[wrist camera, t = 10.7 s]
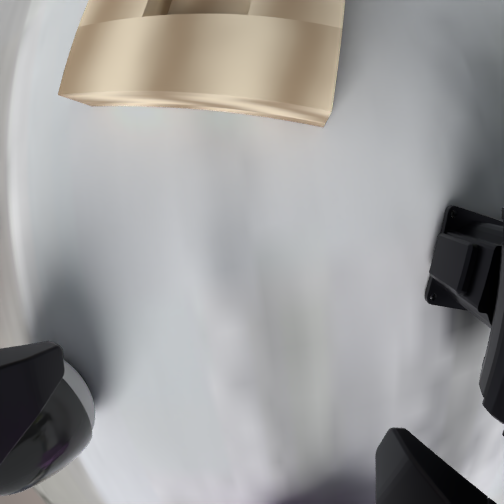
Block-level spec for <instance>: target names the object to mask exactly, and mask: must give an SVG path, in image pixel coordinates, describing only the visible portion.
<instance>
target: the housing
mask: <svg viewBox="0 0 504 504" xmlns="http://www.w3.org/2000/svg"><path fill="white" fill-rule="evenodd" d="M344 7H345V0H89V1H88V3H87V6H86V8H85V11H84V13H83V16H82V18H81V21H80V24H79V26H78V29H77V32H76V35H75V38H74V41H73V44H72V47H71V50H70V53H69V56H68V59H67V63H66V66H65V70H64V73H63V77H62V81H61V84H60V88H59V92H58V95H60V96H63V97H66V98H69V99H72V100H75V101H78V102H81V103H84V104H87V105H90V106H151V107H173V108H188V109H201V110H212V111H222V112H231V113H239V114H247V115H255V116H262V117H269V118H275V119H281V120H287V121H293V122H299V123H304V124H309V125H314V126H319V127H324V125H325V123H326V121H327V120H328V118H329V116H330V114H331V112H332V106H333V99H334V92H335V85H336V78H337V70H338V62H339V54H340V45H341V37H342V27H343V18H344Z"/></svg>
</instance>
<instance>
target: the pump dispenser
mask: <svg viewBox="0 0 504 504" xmlns="http://www.w3.org/2000/svg"><path fill="white" fill-rule="evenodd" d="M64 367H65V372H64V376H63V378H62V380H61V381H60V383H59V384H58V386H57V387H56V389H55V390H54V392H53V393H52V395H51V397H50V398H49V400H48V401H47V403H46V405H45V406H44V408H43V409H42V411H41V412H40V414H39V415H38V416H37V418H36V419H35V420H34V421H33V423H32V424H31V425H30V427H29V428H28V429H27V430H26V432H25V433H24V434H23V435H22V437H21V438H20V439H19V441H18V442H17V443H16V445H15V446H14V447H13V448H12V450H11V451H10V452H9V454H8V455H7V456H6V458H5V459H4V460H3V462H2V463H1V464H0V496H4V495H11V494H15V493H18V492H22V491H24V490H27V489H29V488H31V487H33V486H35V485H37V484H39V483H41V482H43V481H45V480H46V479H48V478H50V477H51V476H53V475H55V474H56V473H58V472H59V471H60V470H62V469H63V468H64V467H66V466H67V465H68V464H69V463H70V462H72V461H73V460H74V459H75V458H76V457H77V456H78V455H79V454H80V453H81V452H82V451H83V450H84V449H85V448H86V447H87V445H88V444H89V443H90V441H91V438H92V429H93V426H94V421H95V407H94V402H93V398H92V395H91V393H90V390H89V388H88V386H87V384H86V383H85V381H84V380H83V378H82V377H81V376H80V374H79V373H78V372H77V371H76V370H75V369H74V368H73V367H72V366H71V365H70V364H69V363H67V362H66V361H65V360H64Z"/></svg>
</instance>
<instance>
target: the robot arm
mask: <svg viewBox="0 0 504 504" xmlns="http://www.w3.org/2000/svg"><path fill="white" fill-rule="evenodd" d="M452 211H454V216H453V217H452V216H451V212H452ZM502 219H503V222H501V221H498V220H495V219H492V218H489V217H486V216H483V215H481V214H478V213H475V212H472V211H468V210H465V209H462V208H459V207H456V206H449V207H447V209H446V211H445V215H444V220H443V225H442V230H441V234H440V235H439V236H438V239H437V243H436V247H435V251H434V255H433V259H432V263H431V267H430V271H429V273H430V278H429V282H428V285H427V289H426V292H425V300H426V301H427V302H428V303H429V304H432V305H438V306H444V307H450V308H456V309H462V310H468V311H470V312H471V313H472V314H473V315H475V316H476V317H477V318H479V319H480V320H481V321H482V322H484V323H485V324H486V325H487V326H489V327H490V328H491V332H490V337H489V341H488V346H487V350H486V354H485V357H484V360H483V364H482V370H481V374H480V380H479V386H480V389H481V392H482V395H483V397H484V400H483V403H482V404H483V406H484V407H485V408H486V409H487V411H488V412H489V413H490V414H491V415H492V416H493V417H494V418H495V419H497V420H498V421H500V422H501V423H502V424H504V208H502ZM432 294H434V297H433V298H432V299H430V296H431V295H432ZM64 372H65V367H64V359H63V350H62V348H61V346H60V345H58V344H55V343H53V342H51V341H46V342H40V343H34V344H28V345H22V346H15V347H9V348H2V349H0V464H1V463H2V462H3V460H4V459H5V458H6V456H7V455H8V454H9V452H10V451H11V450H12V448H13V447H14V446H15V445H16V443H17V442H18V441H19V439H20V438H21V437H22V435H23V434H24V433H25V432H26V430H27V429H28V428H29V427H30V425H31V424H32V423H33V421H34V420H35V419H36V418H37V416H38V415H39V414H40V412H41V411H42V409H43V408H44V406H45V405H46V403H47V401H48V400H49V398H50V397H51V395H52V393H53V392H54V390H55V389H56V387H57V386H58V384H59V383H60V381H61V380H62V378H63V376H64ZM503 436H504V431H503ZM376 504H496V503H495V502H494V501H493V500H491V499H490V498H488V497H487V496H486V495H485V494H484V493H483V492H481V491H480V490H479V489H478V488H476V487H475V486H474V485H473V484H471V483H470V482H469V481H468V480H466V479H465V478H464V477H463V476H461V475H460V474H459V473H458V472H457V471H455V470H454V469H453V468H452V467H450V466H449V465H448V464H447V463H446V462H444V461H443V460H442V459H441V458H440V457H438V456H437V455H436V454H435V453H434V452H432V451H431V450H430V449H429V448H428V447H426V446H425V445H424V444H423V443H422V442H421V441H419V440H418V439H417V438H416V437H415V436H413V435H412V434H411V433H410V432H409V431H408V430H406V429H405V428H390V429H389V430H388V431H387V433H386V435H385V436H384V438H383V440H382V442H381V443H380V445H379V447H378V448H377V451H376Z"/></svg>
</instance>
